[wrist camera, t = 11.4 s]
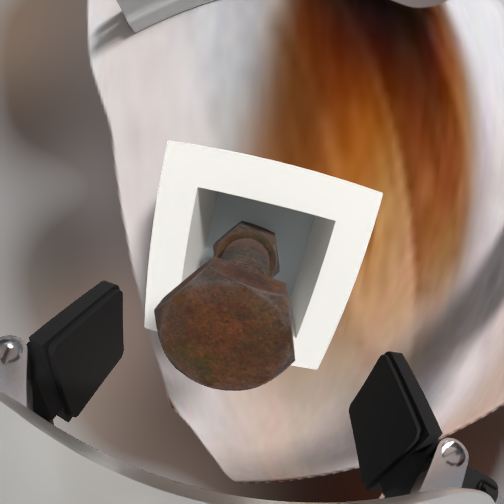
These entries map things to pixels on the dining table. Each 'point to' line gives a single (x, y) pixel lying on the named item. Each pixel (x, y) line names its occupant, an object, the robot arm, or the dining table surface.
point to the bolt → (230, 315)
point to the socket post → (271, 218)
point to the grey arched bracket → (154, 10)
